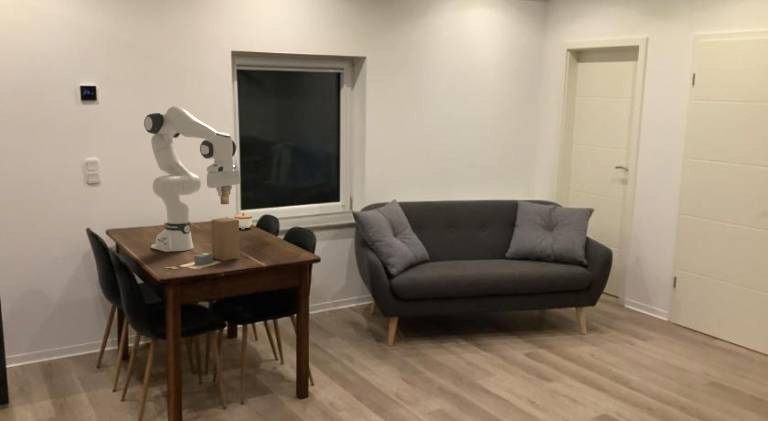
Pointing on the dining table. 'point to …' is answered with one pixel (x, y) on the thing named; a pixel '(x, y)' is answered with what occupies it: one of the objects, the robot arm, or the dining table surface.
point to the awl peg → (225, 195)
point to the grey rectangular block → (203, 259)
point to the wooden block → (225, 238)
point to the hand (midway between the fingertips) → (224, 195)
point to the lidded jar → (244, 220)
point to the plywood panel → (196, 266)
